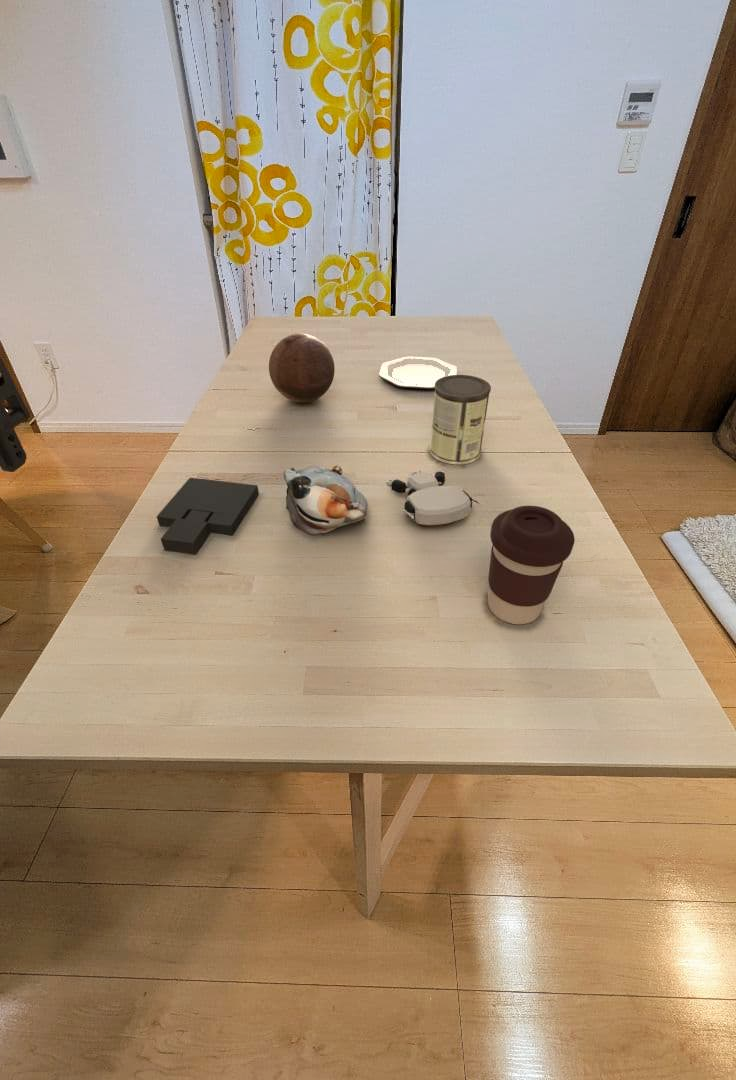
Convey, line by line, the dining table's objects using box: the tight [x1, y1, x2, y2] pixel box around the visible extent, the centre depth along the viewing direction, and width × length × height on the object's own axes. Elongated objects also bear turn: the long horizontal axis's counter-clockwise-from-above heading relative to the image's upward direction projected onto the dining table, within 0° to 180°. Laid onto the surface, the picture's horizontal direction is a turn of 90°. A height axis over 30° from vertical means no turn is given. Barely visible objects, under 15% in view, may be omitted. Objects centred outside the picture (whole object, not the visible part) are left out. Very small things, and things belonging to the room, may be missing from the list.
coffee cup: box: [487, 505, 575, 625], centre depth 67 cm, size 10×10×15 cm
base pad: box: [156, 477, 260, 536], centre depth 89 cm, size 13×12×2 cm
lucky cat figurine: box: [282, 465, 368, 536], centre depth 83 cm, size 15×12×14 cm
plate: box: [378, 356, 458, 390], centre depth 134 cm, size 20×20×2 cm
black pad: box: [160, 510, 212, 556], centre depth 83 cm, size 5×8×2 cm, turn 169°
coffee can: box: [429, 374, 492, 466], centre depth 100 cm, size 10×10×14 cm
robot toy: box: [385, 470, 483, 526], centre depth 89 cm, size 12×4×15 cm
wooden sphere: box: [268, 333, 336, 403], centre depth 119 cm, size 15×15×15 cm
